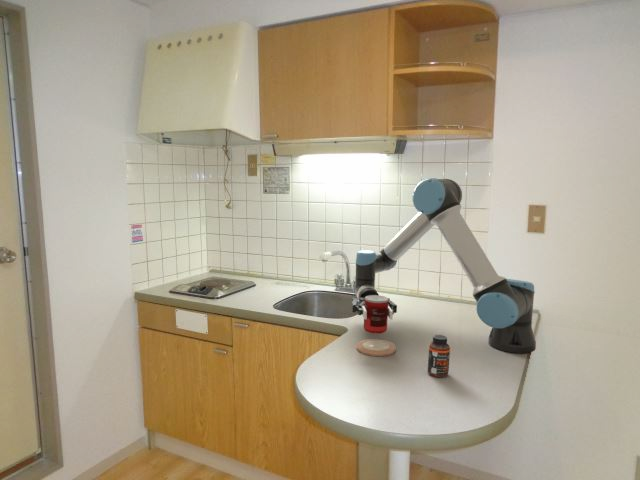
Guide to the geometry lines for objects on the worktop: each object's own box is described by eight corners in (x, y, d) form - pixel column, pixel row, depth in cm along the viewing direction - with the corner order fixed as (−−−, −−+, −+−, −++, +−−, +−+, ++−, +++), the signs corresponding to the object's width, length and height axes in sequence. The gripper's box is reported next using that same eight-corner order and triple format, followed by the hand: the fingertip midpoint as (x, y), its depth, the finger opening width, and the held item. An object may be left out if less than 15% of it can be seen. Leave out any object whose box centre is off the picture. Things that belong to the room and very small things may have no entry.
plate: (403, 351, 154) (403, 347, 154) (372, 359, 147) (373, 355, 147) (378, 340, 165) (378, 336, 164) (348, 346, 158) (348, 342, 158)
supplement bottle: (436, 379, 132) (438, 341, 131) (423, 371, 138) (425, 334, 136) (452, 376, 135) (454, 338, 134) (439, 368, 140) (441, 332, 139)
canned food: (373, 324, 161) (374, 293, 159) (391, 330, 155) (393, 298, 154) (358, 329, 155) (359, 297, 154) (377, 335, 150) (378, 302, 148)
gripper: (395, 307, 173) (409, 326, 150) (340, 306, 172) (346, 326, 150) (396, 287, 172) (410, 304, 149) (340, 287, 171) (346, 303, 149)
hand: (378, 315), depth 150 cm, fingers closed on canned food, 8 cm apart
